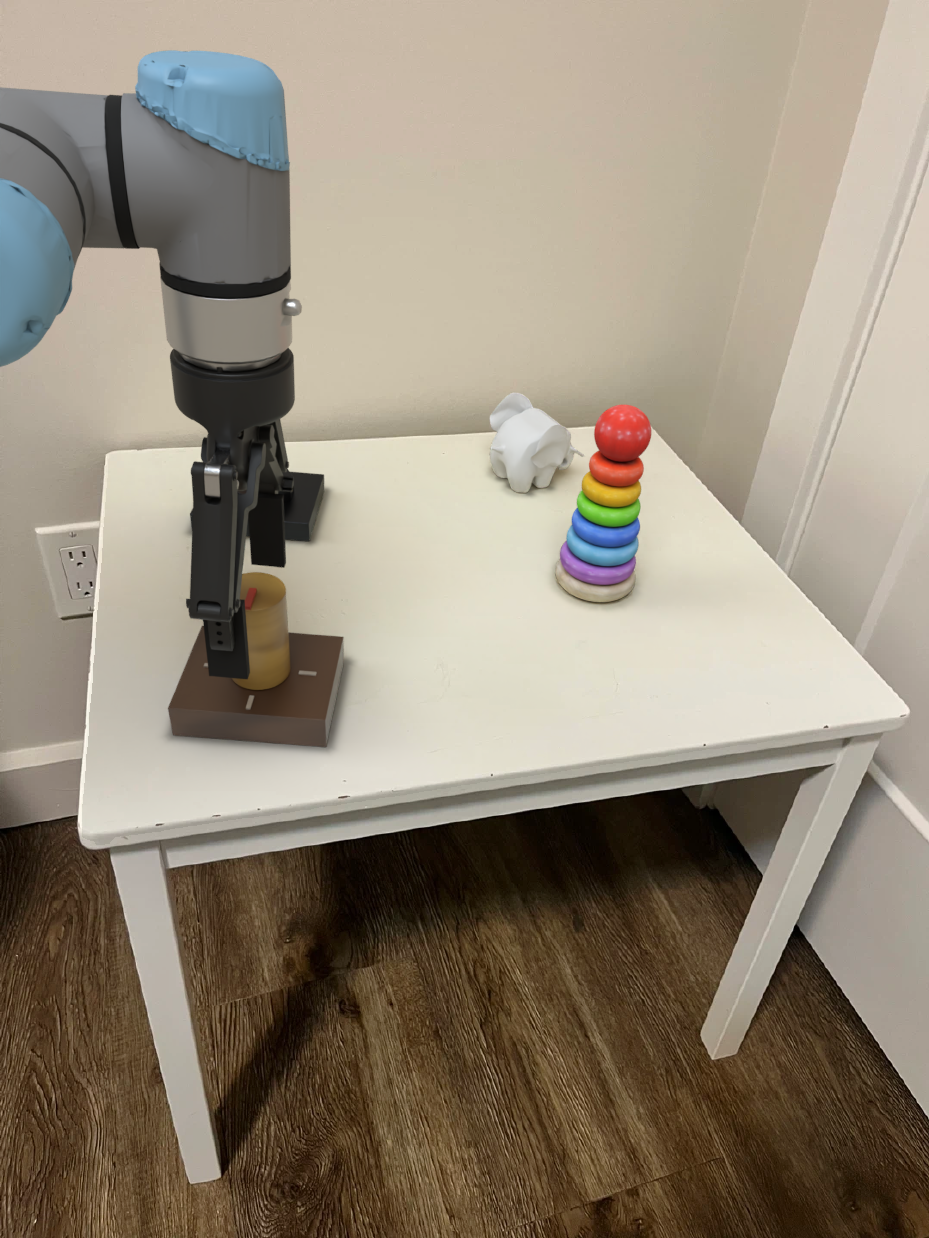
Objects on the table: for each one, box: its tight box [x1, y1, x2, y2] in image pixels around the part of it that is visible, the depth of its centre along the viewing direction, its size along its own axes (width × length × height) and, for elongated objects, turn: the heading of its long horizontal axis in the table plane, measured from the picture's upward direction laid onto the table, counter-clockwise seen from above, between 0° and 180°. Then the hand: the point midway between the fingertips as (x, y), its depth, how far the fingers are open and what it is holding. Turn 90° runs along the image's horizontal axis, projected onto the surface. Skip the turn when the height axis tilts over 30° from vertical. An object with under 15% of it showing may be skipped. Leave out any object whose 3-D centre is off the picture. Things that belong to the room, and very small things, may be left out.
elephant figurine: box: [489, 391, 586, 494], centre depth 104 cm, size 10×12×9 cm
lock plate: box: [167, 625, 345, 748], centre depth 74 cm, size 12×10×3 cm
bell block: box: [189, 468, 325, 542], centre depth 96 cm, size 12×10×4 cm
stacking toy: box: [555, 404, 652, 603], centre depth 86 cm, size 8×8×19 cm
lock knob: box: [232, 571, 291, 690], centre depth 71 cm, size 5×5×8 cm
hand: (250, 615), depth 70 cm, fingers open, 13 cm apart
